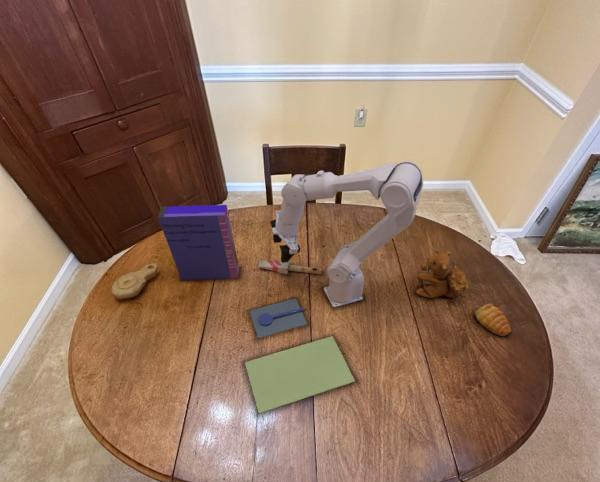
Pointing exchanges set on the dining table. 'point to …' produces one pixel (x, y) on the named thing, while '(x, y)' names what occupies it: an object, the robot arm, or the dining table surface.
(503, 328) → the pastry
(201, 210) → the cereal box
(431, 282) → the stuffed squirrel
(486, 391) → the dining table surface
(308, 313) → the dining table surface
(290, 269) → the paintbrush
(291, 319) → the spoon pad
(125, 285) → the oil lamp
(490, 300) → the dining table surface
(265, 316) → the spoon
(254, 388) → the brush mat
